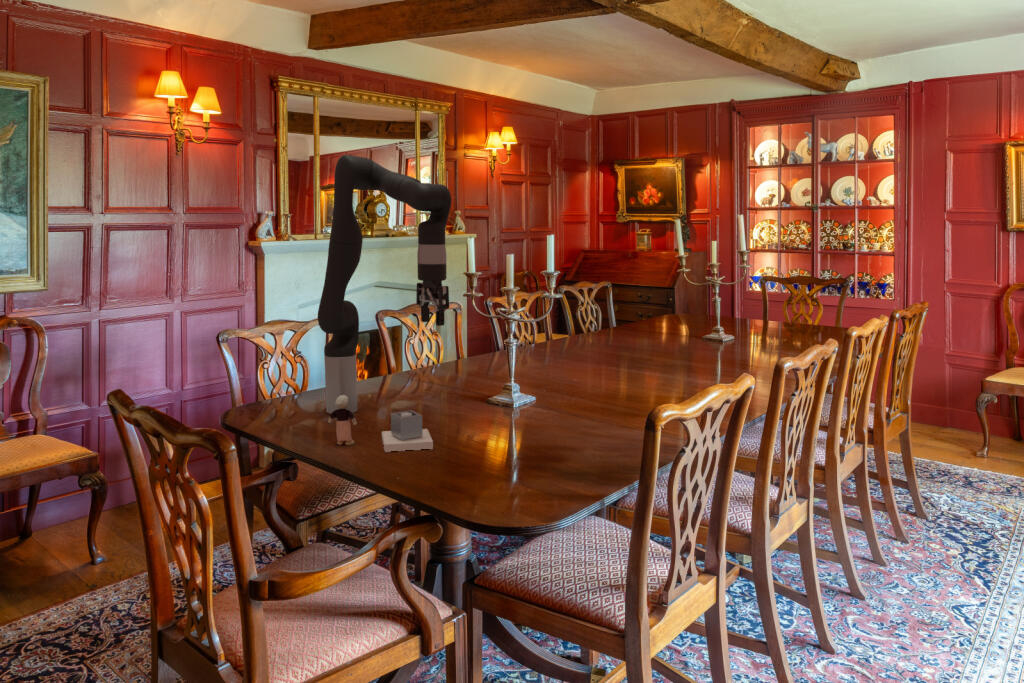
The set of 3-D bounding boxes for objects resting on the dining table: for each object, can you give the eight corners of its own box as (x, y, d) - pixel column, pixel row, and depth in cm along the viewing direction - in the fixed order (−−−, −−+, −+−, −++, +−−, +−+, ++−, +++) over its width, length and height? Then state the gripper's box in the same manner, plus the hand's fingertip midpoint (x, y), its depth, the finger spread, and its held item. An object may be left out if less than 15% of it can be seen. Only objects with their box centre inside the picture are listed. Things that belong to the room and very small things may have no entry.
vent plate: (381, 438, 199) (381, 409, 198) (427, 436, 202) (427, 407, 200) (384, 452, 187) (384, 421, 186) (433, 449, 190) (432, 418, 189)
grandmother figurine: (359, 441, 197) (358, 393, 195) (357, 445, 193) (355, 397, 191) (329, 441, 197) (328, 393, 195) (326, 445, 193) (325, 397, 191)
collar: (412, 430, 198) (411, 410, 197) (422, 436, 193) (422, 415, 192) (391, 433, 195) (390, 413, 194) (400, 439, 190) (400, 418, 189)
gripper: (457, 263, 193) (458, 325, 195) (432, 260, 205) (432, 319, 207) (431, 263, 189) (432, 327, 191) (407, 261, 201) (408, 321, 203)
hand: (432, 323), depth 199 cm, fingers open, 8 cm apart
